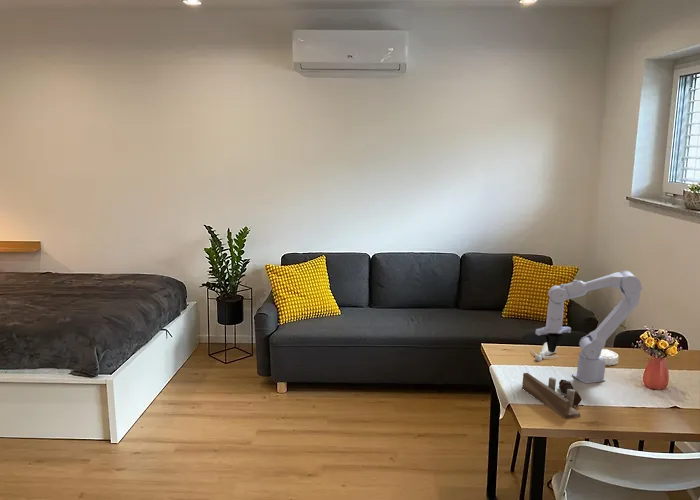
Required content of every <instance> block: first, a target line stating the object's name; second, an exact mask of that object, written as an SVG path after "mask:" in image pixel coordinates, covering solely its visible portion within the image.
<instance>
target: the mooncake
mask: <svg viewBox="0 0 700 500" xmlns="http://www.w3.org/2000/svg"><path fill="white" fill-rule="evenodd" d="M600 356H602V357H603V358H604V360H605V366H614V365H617V364H618V363H619V354H618V353H617V352H615V351H612V350H611V349H607V348H603V349H602V351H601V354H600Z"/></svg>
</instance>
